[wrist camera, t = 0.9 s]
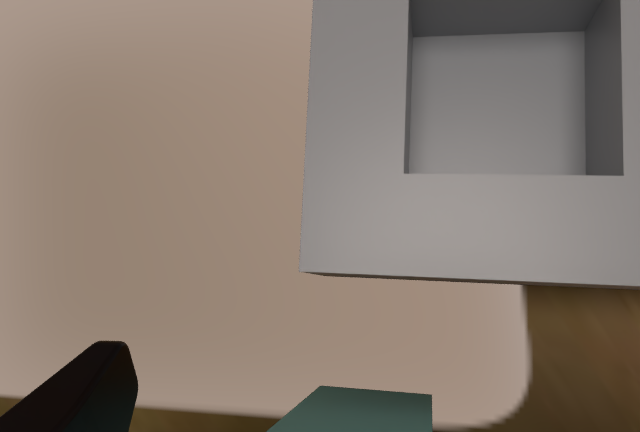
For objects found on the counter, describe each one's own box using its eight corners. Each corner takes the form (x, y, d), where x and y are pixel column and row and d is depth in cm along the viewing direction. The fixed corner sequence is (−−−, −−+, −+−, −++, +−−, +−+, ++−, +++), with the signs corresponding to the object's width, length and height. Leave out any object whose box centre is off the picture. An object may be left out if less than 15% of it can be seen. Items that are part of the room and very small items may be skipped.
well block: (677, 291, 19) (751, 291, 15) (325, 275, 22) (298, 271, 17) (668, -44, 21) (732, -134, 16) (339, -26, 23) (318, -101, 19)
